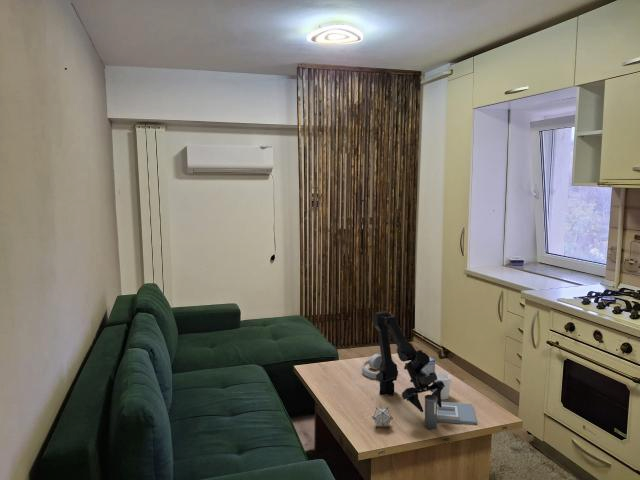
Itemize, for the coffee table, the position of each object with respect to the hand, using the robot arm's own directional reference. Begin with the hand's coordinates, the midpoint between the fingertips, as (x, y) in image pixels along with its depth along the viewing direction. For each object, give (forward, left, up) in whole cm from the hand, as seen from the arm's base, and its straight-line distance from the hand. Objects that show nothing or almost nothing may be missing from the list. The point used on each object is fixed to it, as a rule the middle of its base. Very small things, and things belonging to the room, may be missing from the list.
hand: (431, 409), depth 195 cm
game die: (-20, -3, -8) cm, 22 cm away
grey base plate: (+10, +13, -8) cm, 18 cm away
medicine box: (0, +55, -8) cm, 56 cm away
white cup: (+6, +29, -8) cm, 31 cm away
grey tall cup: (0, 0, -8) cm, 8 cm away
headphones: (-25, +53, -8) cm, 59 cm away
